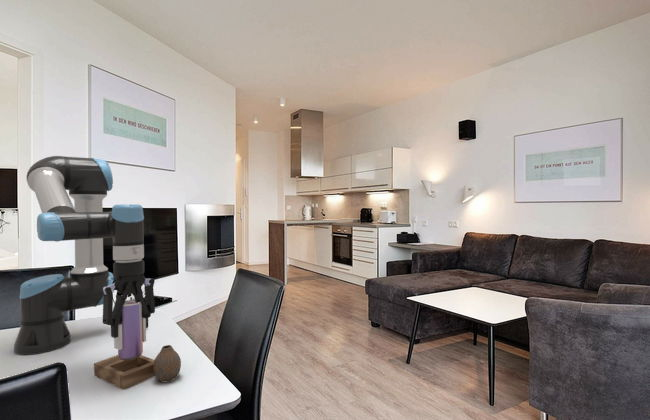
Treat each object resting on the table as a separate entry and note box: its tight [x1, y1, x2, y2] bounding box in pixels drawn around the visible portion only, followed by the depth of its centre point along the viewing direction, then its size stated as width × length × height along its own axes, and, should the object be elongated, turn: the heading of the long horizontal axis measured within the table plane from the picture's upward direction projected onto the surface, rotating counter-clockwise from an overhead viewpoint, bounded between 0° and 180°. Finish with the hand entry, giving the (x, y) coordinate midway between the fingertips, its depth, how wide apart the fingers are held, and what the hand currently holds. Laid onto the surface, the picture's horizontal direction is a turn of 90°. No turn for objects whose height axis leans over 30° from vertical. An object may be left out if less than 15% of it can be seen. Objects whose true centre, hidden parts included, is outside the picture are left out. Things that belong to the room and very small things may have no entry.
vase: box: [153, 344, 182, 383], centre depth 99 cm, size 7×7×9 cm
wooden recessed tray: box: [93, 354, 156, 390], centre depth 101 cm, size 15×10×4 cm, turn 58°
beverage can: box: [117, 299, 144, 360], centre depth 100 cm, size 6×6×15 cm
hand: (130, 344), depth 100 cm, fingers closed on beverage can, 6 cm apart
